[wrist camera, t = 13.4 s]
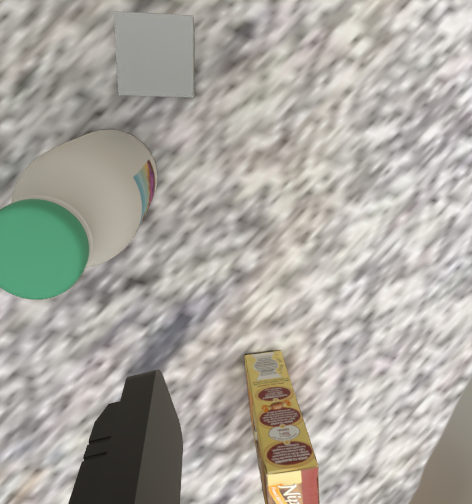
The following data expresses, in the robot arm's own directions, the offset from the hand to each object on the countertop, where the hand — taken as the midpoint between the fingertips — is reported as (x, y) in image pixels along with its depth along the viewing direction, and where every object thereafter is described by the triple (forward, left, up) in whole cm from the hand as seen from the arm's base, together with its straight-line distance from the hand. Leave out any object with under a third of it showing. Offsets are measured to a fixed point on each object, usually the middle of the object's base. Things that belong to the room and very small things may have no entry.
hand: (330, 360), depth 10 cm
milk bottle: (-10, -4, -30) cm, 32 cm away
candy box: (+10, -22, -30) cm, 39 cm away
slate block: (-8, +6, -30) cm, 32 cm away
